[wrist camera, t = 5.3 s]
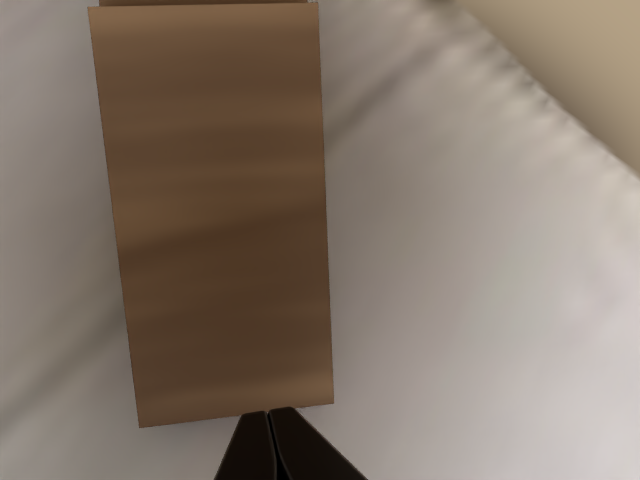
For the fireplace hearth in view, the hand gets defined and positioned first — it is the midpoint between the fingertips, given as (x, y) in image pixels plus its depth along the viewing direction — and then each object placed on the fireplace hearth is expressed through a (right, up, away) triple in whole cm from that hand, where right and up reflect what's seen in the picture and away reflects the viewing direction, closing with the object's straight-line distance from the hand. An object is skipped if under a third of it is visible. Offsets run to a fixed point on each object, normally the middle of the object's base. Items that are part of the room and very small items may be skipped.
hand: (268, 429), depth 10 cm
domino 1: (-1, -1, +7) cm, 7 cm away
